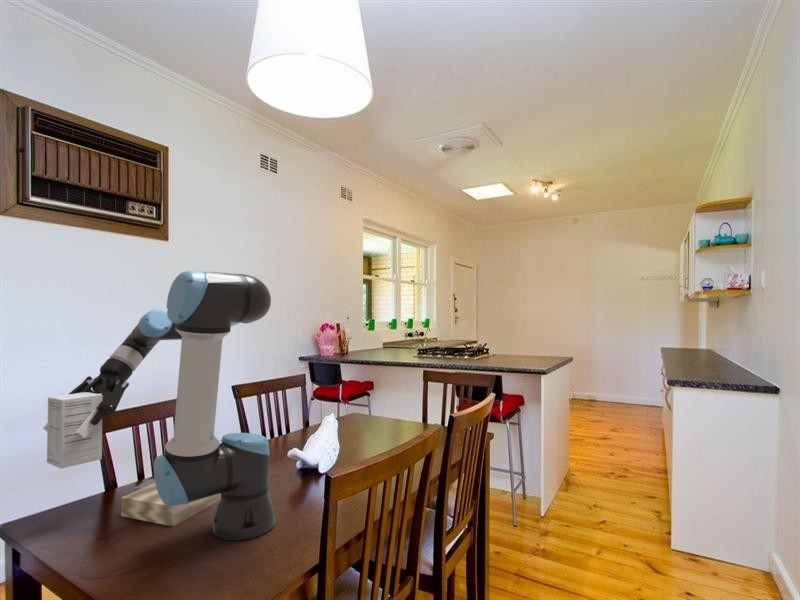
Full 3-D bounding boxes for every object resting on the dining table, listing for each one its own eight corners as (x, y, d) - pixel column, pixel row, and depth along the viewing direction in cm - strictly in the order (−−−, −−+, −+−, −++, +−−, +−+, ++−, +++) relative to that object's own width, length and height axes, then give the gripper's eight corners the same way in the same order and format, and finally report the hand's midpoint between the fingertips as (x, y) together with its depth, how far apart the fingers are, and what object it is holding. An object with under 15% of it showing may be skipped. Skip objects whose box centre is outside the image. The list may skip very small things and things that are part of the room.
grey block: (123, 507, 129) (152, 503, 127) (121, 490, 130) (150, 485, 128) (153, 492, 141) (180, 488, 139) (151, 477, 141) (178, 473, 140)
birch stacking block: (222, 498, 130) (222, 481, 131) (173, 526, 113) (174, 506, 114) (174, 491, 136) (174, 474, 136) (121, 516, 119) (121, 497, 119)
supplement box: (102, 459, 115) (104, 394, 116) (60, 469, 108) (62, 399, 108) (86, 453, 121) (87, 391, 121) (45, 462, 113) (47, 396, 114)
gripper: (160, 375, 126) (107, 445, 111) (99, 371, 133) (42, 437, 118) (144, 357, 121) (87, 428, 106) (82, 355, 128) (20, 421, 113)
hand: (63, 433), depth 112 cm, fingers closed on supplement box, 11 cm apart
